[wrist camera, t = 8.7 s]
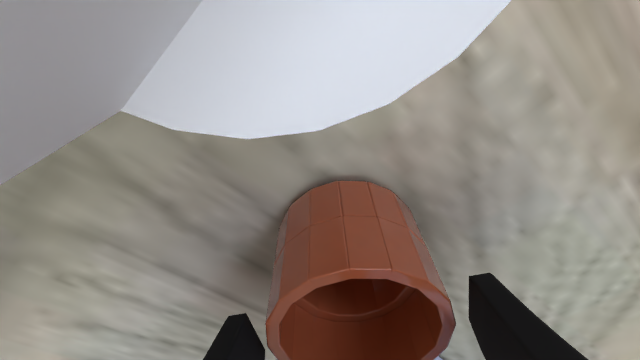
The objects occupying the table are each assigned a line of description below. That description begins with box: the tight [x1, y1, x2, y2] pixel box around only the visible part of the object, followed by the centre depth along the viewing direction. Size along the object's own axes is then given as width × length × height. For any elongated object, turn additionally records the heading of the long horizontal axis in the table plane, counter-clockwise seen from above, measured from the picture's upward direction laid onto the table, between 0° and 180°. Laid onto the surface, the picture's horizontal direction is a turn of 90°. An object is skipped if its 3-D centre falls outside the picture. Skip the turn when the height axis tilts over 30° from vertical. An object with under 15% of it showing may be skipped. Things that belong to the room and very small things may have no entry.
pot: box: [265, 181, 456, 360], centre depth 12 cm, size 6×6×5 cm
